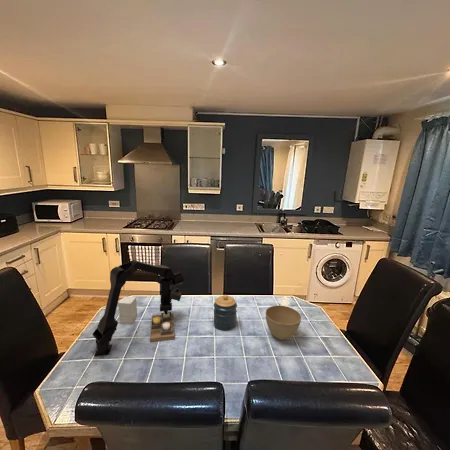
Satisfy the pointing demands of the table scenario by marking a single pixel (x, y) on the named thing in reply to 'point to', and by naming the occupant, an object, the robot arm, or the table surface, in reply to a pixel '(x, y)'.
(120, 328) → the table surface
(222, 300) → the canister
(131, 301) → the supplement box
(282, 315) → the tan bowl
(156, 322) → the mustard button
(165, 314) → the sage button
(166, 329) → the cream button
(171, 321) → the brown button box
